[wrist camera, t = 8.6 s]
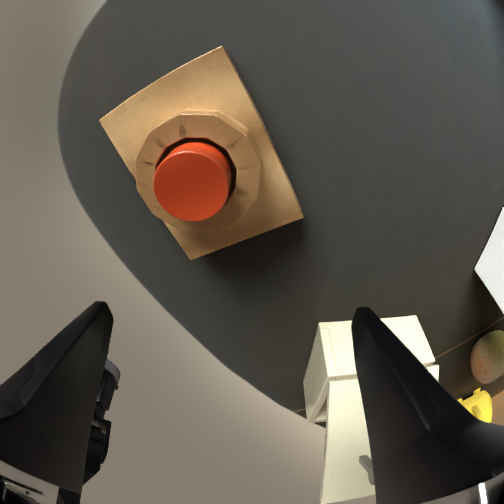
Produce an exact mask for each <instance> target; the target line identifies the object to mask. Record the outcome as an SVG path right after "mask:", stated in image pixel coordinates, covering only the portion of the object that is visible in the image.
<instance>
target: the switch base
mask: <svg viewBox="0 0 504 504" xmlns="http://www.w3.org/2000/svg"><path fill="white" fill-rule="evenodd" d="M99 121H100V123H101V125H102V126H103V128H104V130H105V131H106V133H107V135H108V136H109V138H110V140H111V141H112V143H113V144H114V146H115V148H116V149H117V151H118V153H119V154H120V156H121V157H122V159H123V161H124V162H125V164H126V165H127V167H128V168H129V170H130V172H131V173H132V175H133V176H134V178H135V179H136V185H137V190H138V192H139V194H140V195H141V197H142V198H143V200H144V201H145V203H146V204H147V206H148V207H149V209H150V210H151V212H152V213H153V214H155V216H156V217H158V218H160V219H161V220H163V221H164V223H165V224H166V226H167V227H168V229H169V230H170V232H171V233H172V234H173V236H174V237H175V239H176V240H177V242H178V243H179V244H180V246H181V247H182V249H183V250H184V252H185V253H186V254H187V256H188V257H189V259H190V260H193V259H196V258H198V257H201V256H203V255H206V254H209V253H211V252H214V251H216V250H219V249H222V248H224V247H227V246H229V245H232V244H235V243H237V242H240V241H243V240H245V239H248V238H251V237H253V236H256V235H259V234H261V233H264V232H267V231H269V230H272V229H275V228H277V227H280V226H283V225H285V224H288V223H291V222H293V221H296V220H299V219H301V218H303V214H302V210H301V206H300V204H299V201H298V199H297V196H296V194H295V192H294V189H293V187H292V185H291V182H290V180H289V178H288V175H287V173H286V171H285V169H284V166H283V164H282V162H281V160H280V157H279V155H278V153H277V151H276V149H275V146H274V144H273V142H272V140H271V138H270V136H269V133H268V131H267V129H266V127H265V125H264V123H263V121H262V119H261V117H260V114H259V112H258V110H257V108H256V106H255V104H254V102H253V100H252V98H251V96H250V94H249V92H248V90H247V88H246V86H245V84H244V82H243V80H242V78H241V77H240V75H239V73H238V71H237V69H236V67H235V65H234V63H233V61H232V59H231V58H230V56H229V54H228V52H227V50H226V49H225V48H224V47H223V46H220V47H218V48H216V49H214V50H212V51H210V52H208V53H206V54H204V55H202V56H200V57H198V58H196V59H194V60H192V61H190V62H188V63H186V64H185V65H183V66H181V67H179V68H177V69H176V70H174V71H172V72H170V73H169V74H167V75H165V76H163V77H162V78H160V79H158V80H157V81H155V82H154V83H152V84H150V85H149V86H147V87H146V88H144V89H143V90H141V91H139V92H138V93H136V94H135V95H133V96H132V97H131V98H129V99H128V100H126V101H125V102H123V103H122V104H121V105H119V106H118V107H116V108H115V109H114V110H112V111H111V112H110V113H108V114H107V115H106V116H104V117H103V118H102V119H100V120H99ZM188 142H203V143H207V144H209V145H212V146H214V147H215V148H217V149H218V150H219V151H220V152H221V153H222V154H223V155H224V156H225V157H226V159H227V160H228V163H229V165H230V168H231V183H230V188H229V193H228V197H227V200H226V202H225V204H224V206H223V207H222V209H221V210H220V211H219V212H218V213H217V214H215V215H214V216H212V217H210V218H208V219H205V220H202V221H195V222H194V221H184V220H180V219H178V218H175V217H173V216H172V215H170V214H169V213H167V212H166V211H165V210H164V209H163V208H162V207H161V205H160V204H159V203H158V201H157V199H156V197H155V193H154V189H153V179H154V175H155V172H156V170H157V168H158V166H159V165H160V163H161V162H162V161H163V160H164V159H165V158H166V157H167V156H168V154H169V153H170V152H171V151H172V150H173V149H175V148H176V147H178V146H179V145H182V144H184V143H188Z"/></svg>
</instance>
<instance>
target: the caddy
mask: <svg viewBox="0 0 504 504" xmlns="http://www.w3.org/2000/svg"><path fill="white" fill-rule="evenodd" d="M381 320H382V321H383V322H384V323H385V324H386V325H387V326H388V328H389V329H390V330H391V331H392V332H393V333H394V334H395V335H396V336H397V337H398V338H399V339H400V340H401V341H402V342H403V343H404V345H405V346H406V347H407V348H408V349H409V350H410V351H411V352H412V353H413V354H414V355H415V356H416V357H417V359H418V360H419V361H420V362H421V363H422V364H423V365H424V366H430V365H432V364H433V363H434V362H435V359H434V356H433V354H432V351H431V349H430V346H429V344H428V342H427V339H426V337H425V334H424V332H423V330H422V328H421V325H420V323H419V321H418V319H417V316H416V315H414V316H404V317H394V318H383V319H381ZM351 323H352V321H339V322H319V323H318V328H317V332H316V336H315V340H314V344H313V348H312V351H311V355H310V359H309V363H308V366H307V370H306V373H305V377H304V381H303V384H304V394H305V404H306V415H307V423H313V422H325V421H326V416H327V389H328V380H337V379H347V378H356V377H357V373H356V368H355V360H354V350H353V340H352V332H351Z"/></svg>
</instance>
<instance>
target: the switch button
mask: <svg viewBox="0 0 504 504" xmlns="http://www.w3.org/2000/svg"><path fill="white" fill-rule="evenodd" d="M230 183H231V168H230V165H229V163H228V160H227V159H226V157H225V156H224V155H223V154H222V153H221V152H220V151H219V150H218V149H217V148H215V147H214V146H212V145H209V144H207V143H203V142H188V143H184V144H182V145H179V146H178V147H176V148H175V149H173V150H172V151H171V152H170V153H169V154H168V156H167V157H166V158H165V159H164V160H163V161H162V162H161V163H160V165H159V166H158V168H157V170H156V172H155V175H154V179H153V189H154V193H155V197H156V199H157V201H158V203H159V204H160V205H161V207H162V208H163V209H164V210H165V211H166V212H167V213H169V214H170V215H172V216H173V217H175V218H178V219H180V220H184V221H194V222H195V221H202V220H205V219H208V218H210V217H212V216H214V215H215V214H217V213H218V212H219V211H220V210H221V209H222V207H223V206H224V204H225V202H226V200H227V197H228V193H229V188H230Z"/></svg>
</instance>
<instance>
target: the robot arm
mask: <svg viewBox="0 0 504 504" xmlns="http://www.w3.org/2000/svg"><path fill="white" fill-rule="evenodd" d="M112 327H113V316H112V313H111V311H110V309H109V307H108V305H107V303H106V302H103V301H96V302H94V303H93V304H92V305H90V306H89V307H88V308H87V309H86V310H85V311H83V312H82V313H81V314H80V315H79V316H78V317H77V318H76V319H74V320H73V321H72V322H71V323H70V324H69V325H67V326H66V327H65V328H64V329H63V330H62V331H61V332H60V333H58V334H57V335H56V336H55V337H54V338H53V339H52V340H51V341H50V342H49V343H47V345H45V346H44V347H43V348H42V349H41V350H40V351H39V352H38V353H37V354H36V355H35V356H34V357H32V358H31V359H30V360H29V361H28V362H27V363H26V364H25V365H24V366H23V367H22V368H21V369H19V370H18V371H17V372H16V373H15V374H13V375H12V376H11V377H10V378H9V379H7V380H6V381H5V382H4V383H3V384H1V385H0V504H80V498H81V492H82V486H83V485H84V484H85V483H86V482H87V481H88V480H89V479H91V478H92V477H93V476H94V475H95V474H96V473H97V472H98V471H99V470H100V464H102V463H103V462H104V460H105V458H106V455H107V451H108V445H109V436H110V429H111V421H108V420H105V419H103V418H104V415H105V411H106V410H107V411H108V410H109V407H110V404H111V400H112V397H113V393H114V390H117V389H118V386H117V384H116V383H115V382H114V380H113V379H112V378H111V376H110V375H109V374H108V372H107V371H106V370H105V368H104V367H105V363H106V359H107V355H108V349H109V343H110V337H111V332H112ZM351 332H352V340H353V350H354V360H355V368H356V373H357V378H358V383H359V388H360V393H361V398H362V403H363V409H364V414H365V420H366V426H367V432H368V438H369V445H370V452H371V459H372V467H373V475H374V484H375V493H376V503H377V504H504V426H501V425H496V424H492V423H487V422H484V421H482V420H480V419H478V418H476V417H475V416H474V415H473V414H471V413H470V412H469V411H468V410H467V409H466V408H465V407H464V406H463V405H462V404H461V403H460V402H459V401H458V400H456V399H455V398H454V397H453V396H452V395H451V394H450V393H449V392H448V391H447V390H446V389H445V388H444V387H443V386H442V385H441V384H440V383H439V382H438V381H437V379H436V378H435V377H434V376H433V375H432V374H431V373H430V372H429V371H428V370H427V368H426V367H425V366H424V365H423V364H422V363H421V362H420V361H419V360H418V359H417V357H416V356H415V355H414V354H413V353H412V352H411V351H410V350H409V349H408V348H407V347H406V346H405V345H404V343H403V342H402V341H401V340H400V339H399V338H398V337H397V336H396V335H395V334H394V333H393V332H392V331H391V330H390V329H389V328H388V326H387V325H386V324H385V323H384V322H383V321H382V320H381V319H380V318H379V317H378V316H377V315H376V314H375V313H374V312H373V311H372V310H371V309H370V308H369V307H359V308H357V310H356V312H355V315H354V317H353V320H352V323H351Z"/></svg>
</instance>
